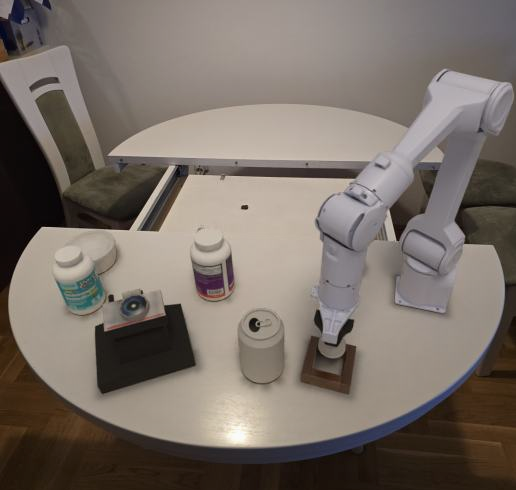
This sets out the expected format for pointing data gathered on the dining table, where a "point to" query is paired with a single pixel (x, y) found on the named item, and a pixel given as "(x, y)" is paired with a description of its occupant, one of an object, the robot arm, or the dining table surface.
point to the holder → (327, 378)
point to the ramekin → (97, 248)
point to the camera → (140, 340)
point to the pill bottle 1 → (78, 280)
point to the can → (261, 345)
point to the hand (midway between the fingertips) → (333, 334)
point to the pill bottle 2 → (212, 264)
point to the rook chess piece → (331, 349)
